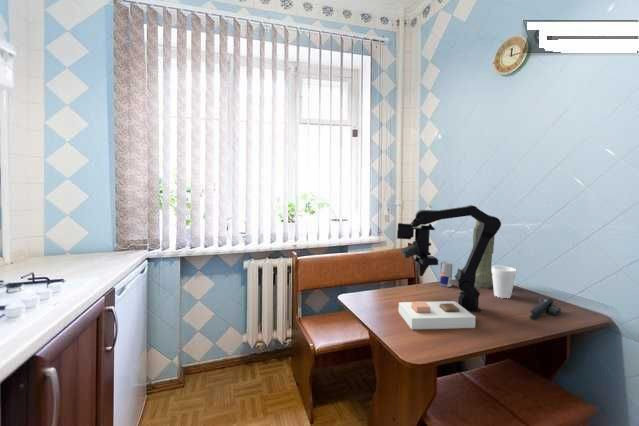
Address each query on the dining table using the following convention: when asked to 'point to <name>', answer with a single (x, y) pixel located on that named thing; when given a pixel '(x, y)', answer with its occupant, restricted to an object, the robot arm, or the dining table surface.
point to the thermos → (484, 263)
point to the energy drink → (446, 274)
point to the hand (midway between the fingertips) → (420, 276)
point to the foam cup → (503, 280)
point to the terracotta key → (421, 307)
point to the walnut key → (449, 308)
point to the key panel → (436, 316)
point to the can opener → (544, 308)
